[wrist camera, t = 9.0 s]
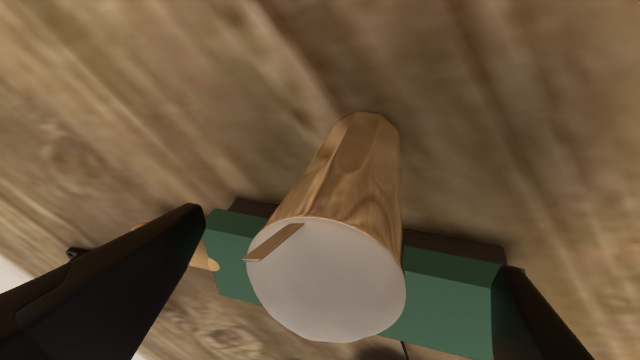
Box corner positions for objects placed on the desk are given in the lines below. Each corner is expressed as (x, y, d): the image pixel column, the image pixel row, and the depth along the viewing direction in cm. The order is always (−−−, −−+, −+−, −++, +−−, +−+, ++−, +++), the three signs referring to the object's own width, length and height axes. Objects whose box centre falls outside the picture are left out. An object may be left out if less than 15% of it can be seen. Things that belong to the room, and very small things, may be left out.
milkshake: (405, 67, 13) (369, 261, 5) (422, 178, 16) (413, 411, 8) (302, 88, 15) (159, 259, 7) (332, 184, 18) (254, 384, 10)
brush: (517, 243, 17) (533, 301, 14) (482, 311, 20) (489, 367, 18) (142, 175, 21) (101, 209, 19) (168, 240, 25) (136, 276, 22)
